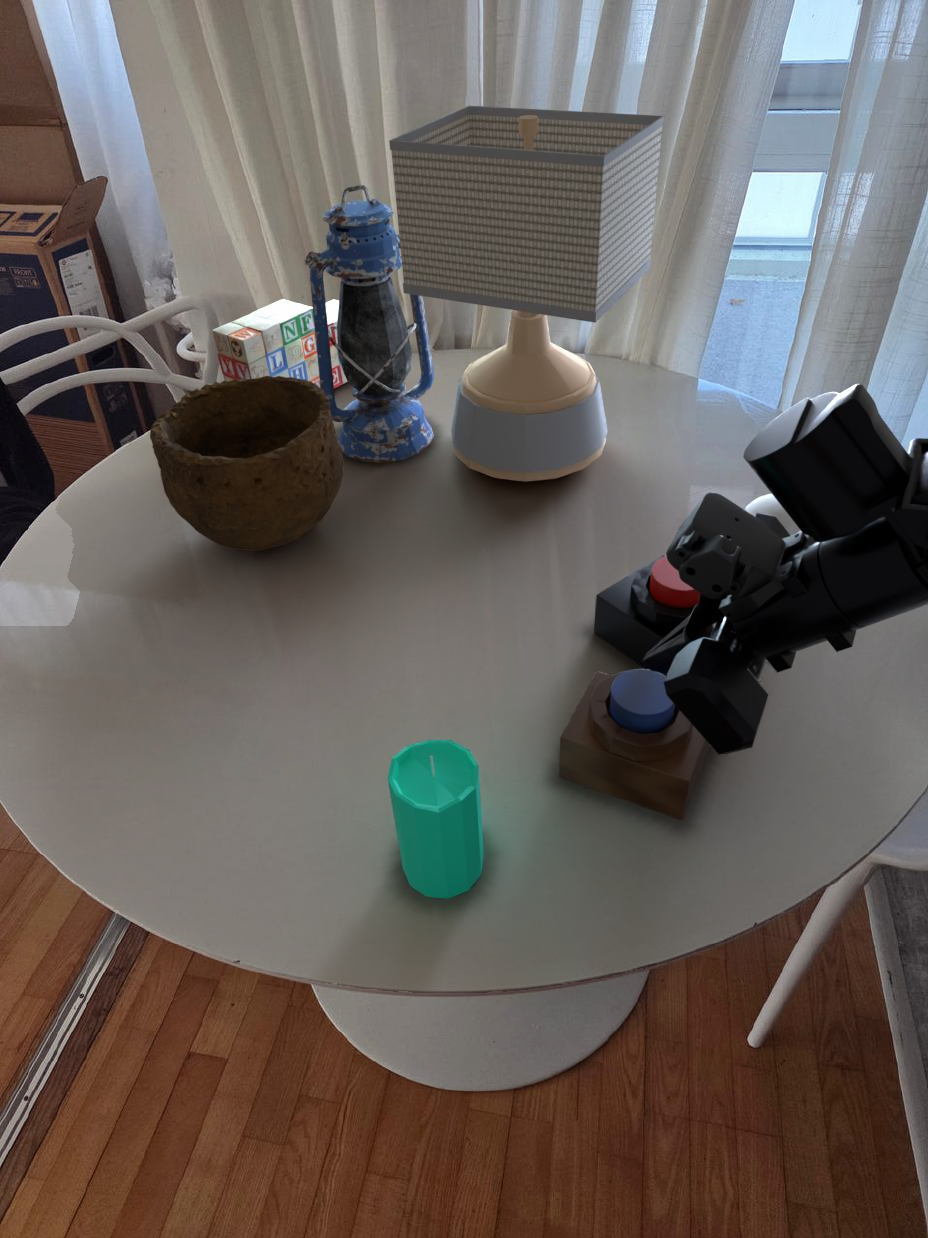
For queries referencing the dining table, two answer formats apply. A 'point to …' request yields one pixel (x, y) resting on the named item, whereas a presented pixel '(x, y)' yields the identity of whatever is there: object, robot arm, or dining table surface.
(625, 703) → the blue button
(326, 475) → the bowl
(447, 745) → the candle
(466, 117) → the desk lamp
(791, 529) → the stress ball
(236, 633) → the dining table surface
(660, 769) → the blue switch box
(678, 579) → the light button
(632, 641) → the switch box
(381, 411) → the lantern
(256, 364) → the stack of blocks
